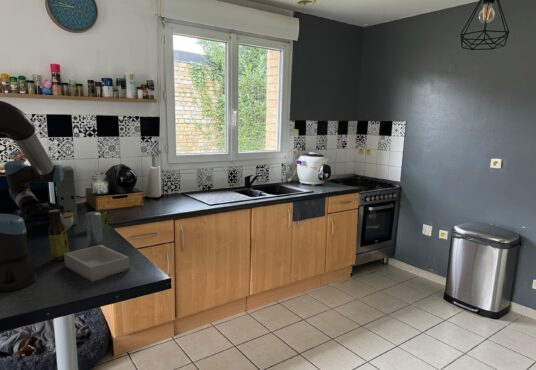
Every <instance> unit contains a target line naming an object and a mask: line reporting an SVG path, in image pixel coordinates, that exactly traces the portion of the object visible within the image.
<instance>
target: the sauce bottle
mask: <svg viewBox="0 0 536 370" xmlns="http://www.w3.org/2000/svg"><path fill="white" fill-rule="evenodd" d="M47 214H48V216H50V218H49V225H48V226H47V232H48V241H49V247H50V253H51V257H52V260H53V261H55V262H60V261H65V258H64V253H68V252H70V248H69V241H68V234H67V230H66V227H65V225H64V224H63V223H62V222H61V217H60V210H59V209H55V210H50V211H48V213H47Z"/></svg>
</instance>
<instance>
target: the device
mask: <svg viewBox="0 0 536 370" xmlns="http://www.w3.org/2000/svg"><path fill="white" fill-rule="evenodd" d="M62 168H63V172H64V176H63V179H62V181H60V182H55V188H56V189H55V190H56V199H57V200H56V201H57V204H58V205H62V206H64V209H65V212H70V213H73V224H72V226H78V225H79V222H78V221H79V220H78V211H77V210H78V209H77V197H76V184H75V183H76V182H75V181H76V180H75V171H74V168H73V167H72V166H69V165H68V166H64V167H63V166H62Z"/></svg>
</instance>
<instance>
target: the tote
mask: <svg viewBox="0 0 536 370" xmlns="http://www.w3.org/2000/svg"><path fill="white" fill-rule="evenodd" d="M64 258H65V259H64V267H66V268H67V269H69V270H71V271H73V272H75V273H76V274H78V275H79V274H80V275H79V276H81V277H83V278H85V279H87V280H88V281H90V282H91V283H92V282H93V283H94V282H95V281H99V280H102V279H105V277H106V278H108V276H109V277H112V276H115V275H118V274H117V273H119V274H121V273H120V272H122V273H124V271H125V272H127V270H128V271H130V256H127V255H125V254H123V253H121V252H118V251H116V250H113V249H112V248H109V247H107V246H105V245H103V246H102V245H97V246H93V247H89V248H88V247H85V248H81V249H78V250H72V251H69V252H68V253H64ZM114 274H115V275H114ZM111 275H112V276H111Z"/></svg>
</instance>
